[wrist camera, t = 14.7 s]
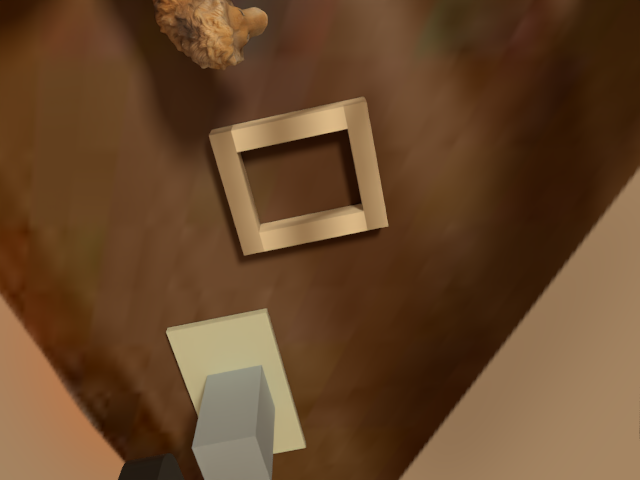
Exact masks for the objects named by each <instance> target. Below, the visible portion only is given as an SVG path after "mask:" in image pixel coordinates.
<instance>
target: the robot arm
mask: <svg viewBox="0 0 640 480" xmlns="http://www.w3.org/2000/svg"><path fill="white" fill-rule="evenodd" d="M118 480H184V478H183V476H182V473H181V471H180V468H179V466H178V463H177V461H176V459H175V458H174V456H173V455H172V454H170V453H168V454H162V455H157V456H151V457H146V458H141V459H135V460H130V461H127V462H126V463H125V464H124V466H123V467H122V470H121V473H120V476H119V479H118Z"/></svg>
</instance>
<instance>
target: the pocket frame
mask: <svg viewBox="0 0 640 480" xmlns="http://www.w3.org/2000/svg"><path fill="white" fill-rule="evenodd" d="M344 129H347V130H348V135H349V140H350V145H351V150H352V156H353V161H354V166H355V171H356V176H357V181H358V186H359V192H360V197H361V202H362V203H361V204H356V205H351V206H347V207H342V208H337V209H332V210H327V211H322V212H318V213H313V214H308V215H303V216H298V217H293V218H289V219H284V220H279V221H274V222H269V223H264V224H260V221H259V217H258V214H257V210H256V206H255V203H254V199H253V195H252V192H251V188H250V185H249V181H248V177H247V174H246V170H245V166H244V163H243V159H242V155H241V151H246V150H251V149H255V148H260V147H265V146H269V145H274V144H279V143H283V142H288V141H293V140H297V139H302V138H307V137H311V136H316V135H321V134H325V133H330V132H335V131H339V130H344ZM209 138H210V142H211V145H212V149H213V152H214V155H215V159H216V162H217V165H218V169H219V172H220V176H221V179H222V182H223V186H224V189H225V193H226V196H227V199H228V203H229V206H230V210H231V213H232V216H233V220H234V223H235V227H236V230H237V233H238V237H239V240H240V244H241V247H242V250H243V254H244V256H245V255H250V254H254V253H259V252H264V251H269V250H274V249H279V248H284V247H289V246H294V245H299V244H303V243H308V242H313V241H318V240H323V239H328V238H333V237H338V236H343V235H348V234H353V233H357V232H362V231H367V230H372V229H377V228H382V227H387V226H388V221H387V216H386V210H385V204H384V199H383V193H382V187H381V182H380V176H379V170H378V165H377V159H376V154H375V148H374V142H373V137H372V131H371V125H370V120H369V114H368V109H367V103H366V100H365V98H364V97H360V98H355V99H351V100H346V101H341V102H337V103H332V104H327V105H323V106H318V107H314V108H309V109H304V110H300V111H295V112H291V113H286V114H281V115H277V116H272V117H268V118H263V119H258V120H254V121H249V122H245V123H240V124H235V125H231V126H226V127H221V128H217V129H212V130H211V132H210V134H209Z"/></svg>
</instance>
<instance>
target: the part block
mask: <svg viewBox="0 0 640 480" xmlns="http://www.w3.org/2000/svg"><path fill="white" fill-rule="evenodd" d="M274 422H275V406H274V403H273V399H272V396H271V393H270V390H269V387H268V383H267V380H266V377H265V374H264V371H263V367H262V365H259V366H253V367H248V368H243V369H238V370H233V371H228V372H223V373H218V374H213V375H208V376H207V380H206V384H205V389H204V394H203V398H202V403H201V408H200V412H199V417H198V422H197V426H196V431H195V436H194V440H193V445H192V450H193V452H194V455H195V457H196V460H197V462H198V465H199V467H200V470H201V472H202V475H203V477H204V480H272V462H273V442H274Z"/></svg>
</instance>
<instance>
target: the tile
mask: <svg viewBox="0 0 640 480" xmlns="http://www.w3.org/2000/svg"><path fill="white" fill-rule="evenodd" d="M166 333H167V336H168V339H169V341H170V344H171V347H172V349H173V352H174V354H175V357H176V360H177V362H178V365H179V368H180V370H181V373H182V376H183V378H184V381H185V383H186V386H187V389H188V391H189V394H190V397H191V399H192V402H193V405H194V407H195V410H196V413H197V415H198V417H199V412H200V408H201V403H202V398H203V394H204V389H205V384H206V380H207V376H208V375H213V374H218V373H223V372H228V371H233V370H238V369H243V368H248V367H253V366H259V365H262V367H263V371H264V374H265V377H266V380H267V383H268V387H269V390H270V393H271V396H272V399H273V403H274V406H275V422H274V442H273V454H275V453H280V452H286V451H291V450H296V449H302V448H306V442H305V438H304V435H303V431H302V428H301V424H300V421H299V417H298V414H297V411H296V407H295V404H294V400H293V397H292V393H291V390H290V386H289V383H288V379H287V376H286V372H285V369H284V366H283V362H282V359H281V355H280V352H279V348H278V345H277V341H276V338H275V334H274V331H273V327H272V324H271V320H270V317H269V314H268V310H267V308H266V309H261V310H256V311H251V312H246V313H241V314H236V315H230V316H225V317H220V318H215V319H210V320H205V321H200V322H195V323H190V324H185V325H180V326H175V327H170V328H167V331H166Z"/></svg>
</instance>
